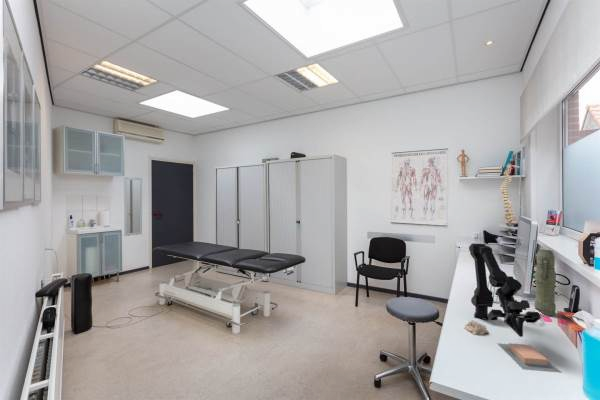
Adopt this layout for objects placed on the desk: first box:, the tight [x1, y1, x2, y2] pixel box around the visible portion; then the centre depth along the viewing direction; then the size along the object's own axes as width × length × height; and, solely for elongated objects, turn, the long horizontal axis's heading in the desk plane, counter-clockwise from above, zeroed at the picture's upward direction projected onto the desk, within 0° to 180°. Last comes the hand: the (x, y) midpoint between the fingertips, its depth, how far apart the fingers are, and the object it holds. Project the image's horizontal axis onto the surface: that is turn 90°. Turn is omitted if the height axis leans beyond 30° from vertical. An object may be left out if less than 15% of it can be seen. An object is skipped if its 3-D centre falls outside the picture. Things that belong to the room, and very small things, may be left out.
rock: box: [463, 319, 489, 336], centre depth 139 cm, size 11×8×6 cm
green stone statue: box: [534, 249, 557, 317], centre depth 160 cm, size 9×12×35 cm
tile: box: [508, 342, 549, 366], centre depth 116 cm, size 2×8×11 cm
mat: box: [496, 342, 562, 373], centre depth 117 cm, size 19×13×1 cm
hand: (521, 336), depth 120 cm, fingers closed
